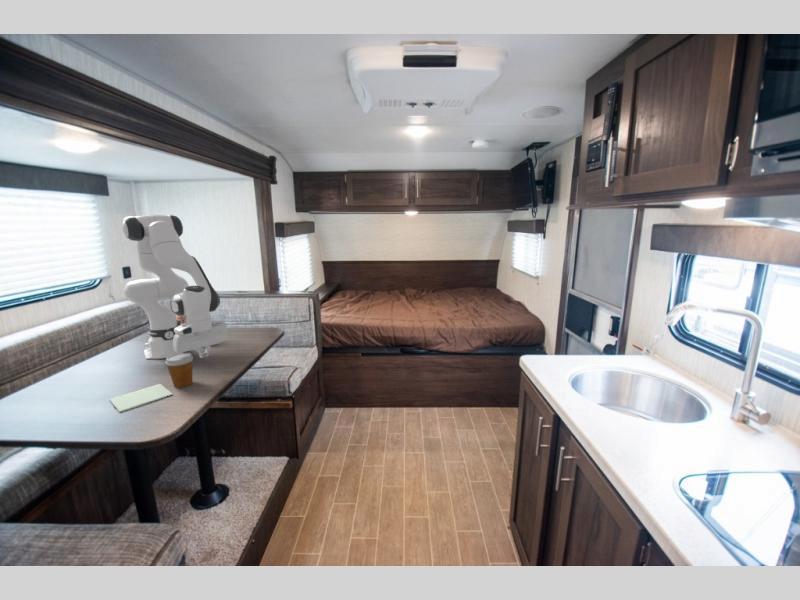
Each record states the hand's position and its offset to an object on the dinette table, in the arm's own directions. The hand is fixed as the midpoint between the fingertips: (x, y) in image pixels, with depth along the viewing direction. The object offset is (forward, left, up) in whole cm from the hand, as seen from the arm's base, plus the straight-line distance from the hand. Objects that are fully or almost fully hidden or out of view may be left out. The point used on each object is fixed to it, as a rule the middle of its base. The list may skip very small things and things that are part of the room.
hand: (204, 356), depth 141 cm
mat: (0, -23, -9) cm, 25 cm away
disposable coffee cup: (0, -9, -9) cm, 13 cm away
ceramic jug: (-55, +14, -9) cm, 58 cm away
